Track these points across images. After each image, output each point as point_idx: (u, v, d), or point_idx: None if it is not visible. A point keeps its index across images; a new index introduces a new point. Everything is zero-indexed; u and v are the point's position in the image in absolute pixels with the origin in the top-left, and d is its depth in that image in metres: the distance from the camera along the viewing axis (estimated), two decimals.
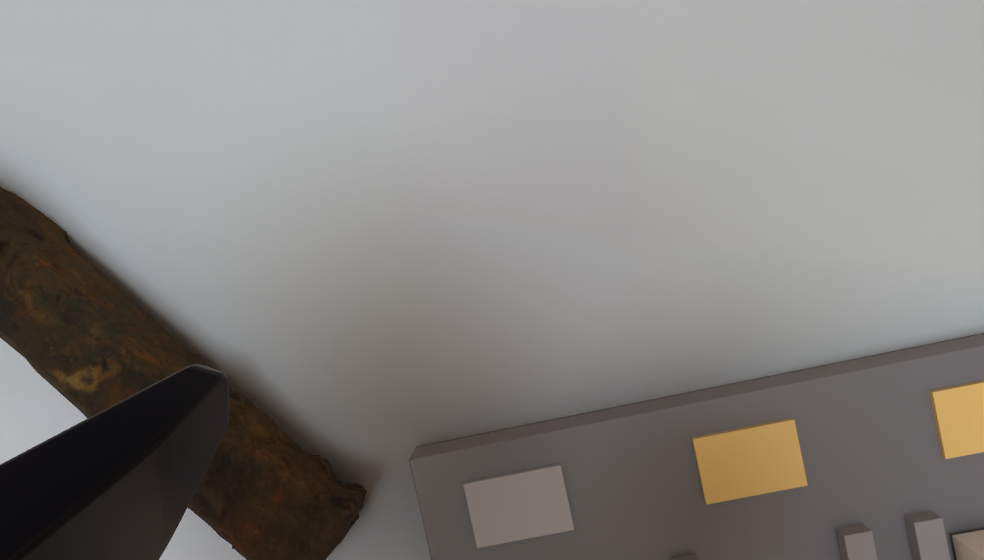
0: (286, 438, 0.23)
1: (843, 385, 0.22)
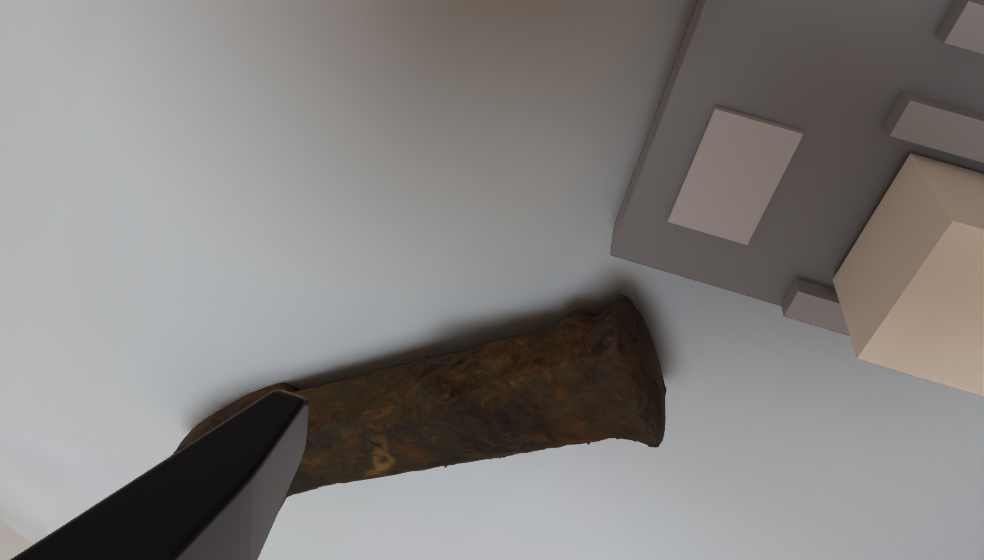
0: (526, 339, 0.21)
1: None
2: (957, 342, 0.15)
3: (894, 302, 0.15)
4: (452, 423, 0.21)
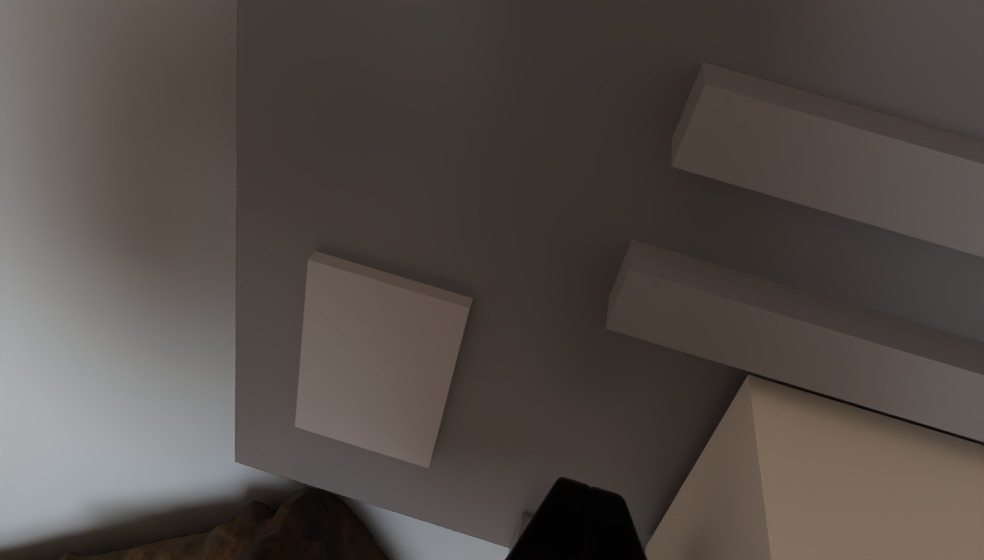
0: (167, 555, 0.14)
1: None
2: None
3: None
4: None
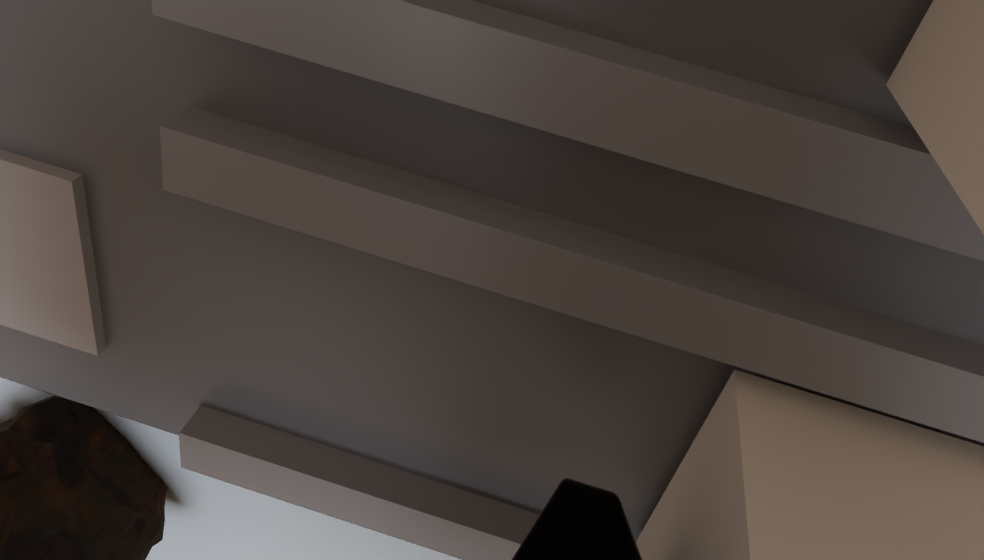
0: None
1: None
2: None
3: None
4: None
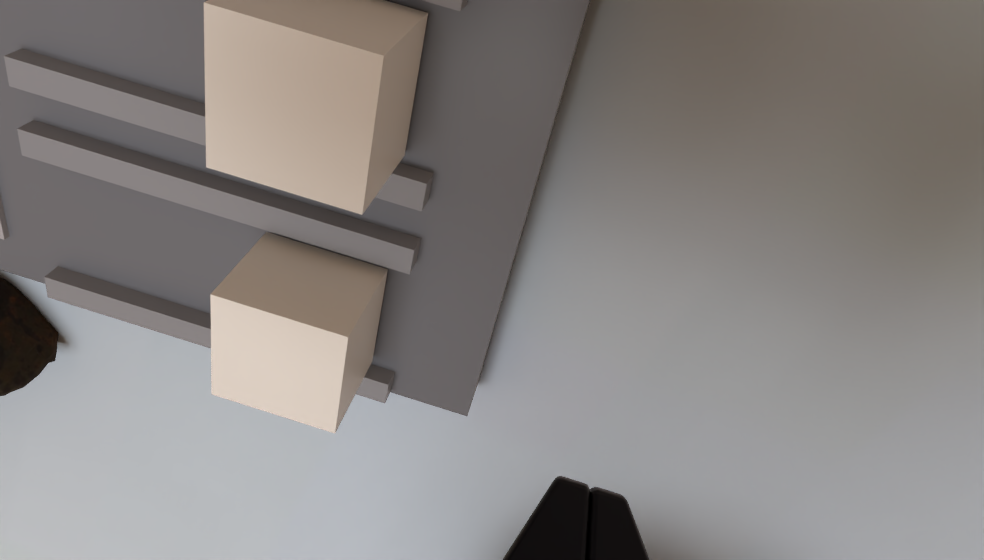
0: None
1: None
2: (266, 383, 0.19)
3: (212, 352, 0.19)
4: None
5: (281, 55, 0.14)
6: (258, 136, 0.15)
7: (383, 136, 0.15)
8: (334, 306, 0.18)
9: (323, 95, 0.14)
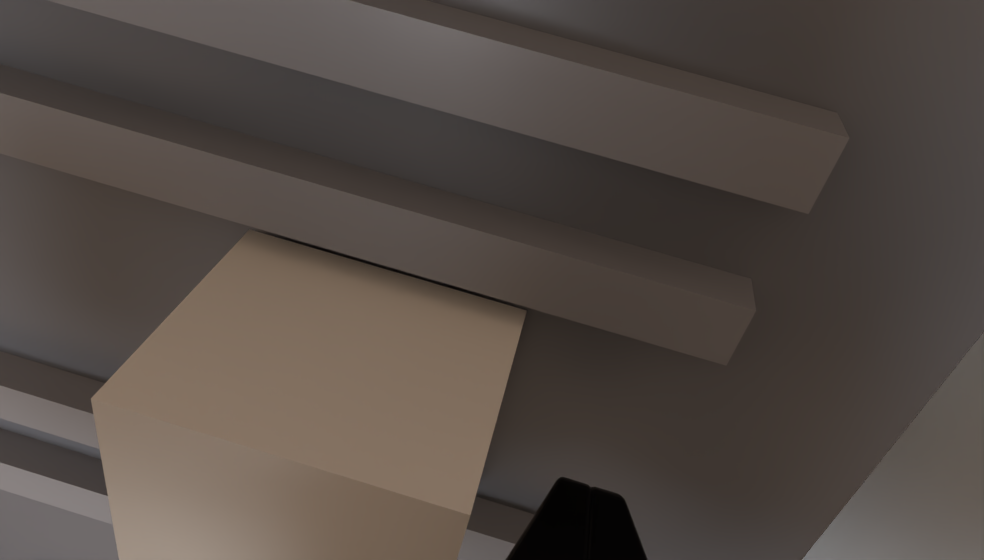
0: None
1: None
2: None
3: None
4: None
5: (256, 489, 0.07)
6: None
7: None
8: None
9: (342, 552, 0.07)
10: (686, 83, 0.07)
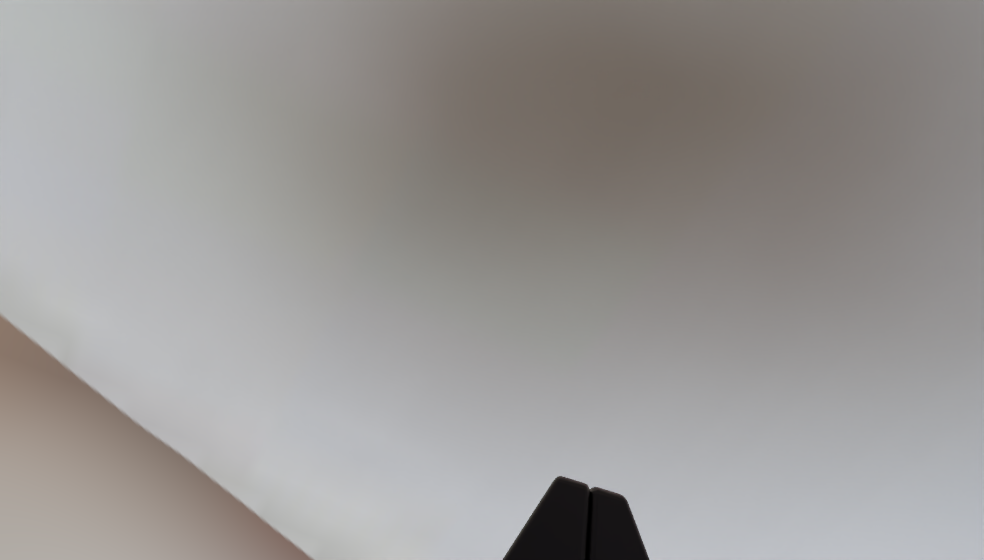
0: None
1: None
2: None
3: None
4: None
5: None
6: None
7: None
8: None
9: None
10: None
